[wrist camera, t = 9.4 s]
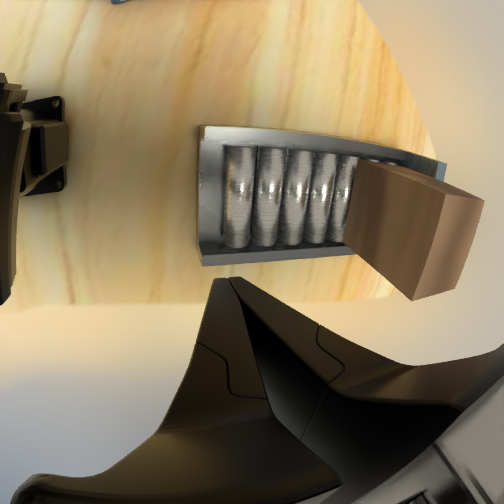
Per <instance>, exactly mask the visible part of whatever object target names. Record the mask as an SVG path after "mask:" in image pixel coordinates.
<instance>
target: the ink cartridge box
mask: <svg viewBox="0 0 504 504" xmlns="http://www.w3.org/2000/svg"><path fill="white" fill-rule="evenodd" d="M124 1H127V0H111V2H112V4H117V3H120V2H124Z"/></svg>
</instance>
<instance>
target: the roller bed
mask: <svg viewBox="0 0 504 504" xmlns="http://www.w3.org/2000/svg"><path fill="white" fill-rule="evenodd" d="M358 159H359V160H366V161H373V162H379V163H385V164H391V165H397V166H402V167H406V168H409V169H412V170H414V171H417V172H420V173H422V174H425V175H427V176H430V177H432V178H435V179H437V180H440V181H442V182H443V181H444V176H445V171H446V166H447V164H446V163H443V162H440V161H437V160H434V159H431V158H428V157H425V156H422V155H419V154H416V153H412V152H409V151H406V150H402V149H399V148H395V147H390V146H386V145H381V144H376V143H371V142H366V141H361V140H356V139H350V138H344V137H338V136H331V135H325V134H318V133H310V132H302V131H293V130H283V129H272V128H260V127H244V126H221V125H200V134H199V157H198V194H197V250H198V254H199V258H200V261H201V265H202V266H215V265H228V264H242V263H255V262H268V261H281V260H293V259H306V258H318V257H330V256H342V255H353V254H356V253H355V252H354V251H353V250H352V249H350V248H349V247H348V246H347V245H345V244H344V243H343V242H342V241H343V236H344V232H345V227H346V222H347V217H348V212H349V207H350V201H351V196H352V190H353V184H354V178H355V172H356V166H357V160H358Z"/></svg>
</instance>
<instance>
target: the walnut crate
mask: <svg viewBox="0 0 504 504" xmlns="http://www.w3.org/2000/svg"><path fill="white" fill-rule="evenodd" d="M483 204H484V200H482V199H480V198H478V197H476V196H474V195H472V194H470V193H467V192H465V191H463V190H461V189H459V188H456V187H454V186H452V185H449V184H447V183H445V182H442V181H440V180H437V179H435V178H432V177H430V176H427V175H425V174H422V173H420V172H417V171H414V170H412V169H409V168H406V167H402V166H397V165H391V164H385V163H379V162H373V161H366V160H359V159H358V160H357V166H356V172H355V178H354V184H353V190H352V196H351V201H350V207H349V212H348V217H347V222H346V227H345V232H344V236H343V241H342V242H343V243H344V244H345V245H347V246H348V247H349V248H350V249H352V250H353V251H354V252H355V253H356V254H358V255H359V256H360V257H361V258H362V259H364V260H365V261H366V262H367V263H368V264H370V265H371V266H372V267H373V268H374V269H375V270H377V271H378V272H379V273H380V274H381V275H382V276H384V277H385V278H386V279H387V280H388V281H389V282H390V283H392V284H393V285H394V286H395V287H396V288H397V289H398V290H399V291H401V292H402V293H403V294H404V295H405V296H406V297H407V298H408V299H409V300H411V301H414V300H418V299H421V298H425V297H428V296H432V295H435V294H438V293H442V292H445V291H448V290H452V289H454V288H455V287H456V284H457V282H458V280H459V277H460V275H461V272H462V269H463V267H464V264H465V261H466V259H467V256H468V253H469V251H470V248H471V245H472V242H473V239H474V235H475V233H476V229H477V226H478V223H479V219H480V216H481V212H482V208H483Z"/></svg>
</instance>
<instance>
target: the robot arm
mask: <svg viewBox="0 0 504 504" xmlns="http://www.w3.org/2000/svg"><path fill="white" fill-rule="evenodd" d="M21 87H22V85H18V84H9V83H8V82H7V79H6V76H5V73H0V306H1V305H2V304H3V303H4V302H5V301H6V300H7V299H8V297H9V296H10V295H11V286H12V285H13V281H14V278H15V275H16V230H17V213H18V202H19V199H20V198H21V197H24V196H31V195H37V194H45V193H52V192H59V191H62V190H63V189H64V188H65V187H66V183H67V182H66V170H65V164H66V163H67V161H68V143H67V124H66V123H65V122H64V99H63V97H61V96H53V97H48V98H44V99H39V100H35V101H31V102H27V103H23V101H25V98H26V95H27V92H28V90H24V89H21ZM56 100H58V101H59V105H58V106H57V107H55V105H54V104H55V101H56ZM22 103H23V104H22ZM57 181H60V182H61V183H62V186H61V187H60V186H58V185H57ZM10 504H504V344H502V345H501V346H500V347H499V348H497V349H496V350H494V351H491V352H488V353H485V354H482V355H479V356H474V357H469V358H464V359H459V360H453V361H448V362H441V363H435V364H428V365H420V366H411V365H405V364H401V363H398V362H395V361H393V360H390V359H388V358H386V357H384V356H382V355H379V354H377V353H375V352H373V351H371V350H368V349H366V348H364V347H362V346H360V345H357V344H355V343H353V342H351V341H349V340H347V339H345V338H343V337H341V336H340V335H338V334H336V333H334V332H332V331H330V330H329V329H327V328H325V327H324V326H322V325H319V324H318V323H317V322H315V321H313V320H311V319H310V318H308V317H306V316H305V315H303V314H301V313H300V312H298V311H296V310H294V309H293V308H291V307H290V306H288V305H286V304H285V303H283V302H281V301H280V300H278V299H276V298H275V297H273V296H271V295H270V294H268V293H266V292H265V291H263V290H261V289H260V288H258V287H257V286H255V285H253V284H252V283H250V282H248V281H247V280H245V279H244V278H242V277H229V278H228V279H227V278H216V279H214V280H213V283H212V286H211V290H210V293H209V297H208V300H207V304H206V307H205V311H204V314H203V318H202V321H201V325H200V328H199V332H198V336H197V339H196V344H195V346H194V350H193V354H192V356H191V359H190V363H189V366H188V368H187V370H186V373H185V375H184V377H183V380H182V382H181V384H180V386H179V388H178V391H177V393H176V394H175V397H174V399H173V401H172V403H171V405H170V407H169V409H168V411H167V413H166V415H165V417H164V419H163V421H162V423H161V424H160V426H159V428H158V429H157V430H156V432H155V433H154V434H153V435H152V436H151V437H150V438H148V439H147V440H146V441H145V442H143V443H142V444H141V445H140V446H138V447H137V448H136V449H135V450H133V451H132V452H131V453H129V454H128V455H127V456H125V457H124V458H123V459H122V460H120V461H119V462H117V463H116V464H115V465H113V466H112V467H111V468H110V469H108V470H106V471H104V472H102V473H100V474H97V475H94V476H89V477H66V476H60V475H54V474H35V475H32V476H31V477H29V478H28V479H27V480H26V481H25V482H24V483H23V484H22V485H21V486H19V488H18V489H17V490H16V491H15V493H14V495H13V497H12V499H11V502H10Z"/></svg>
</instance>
